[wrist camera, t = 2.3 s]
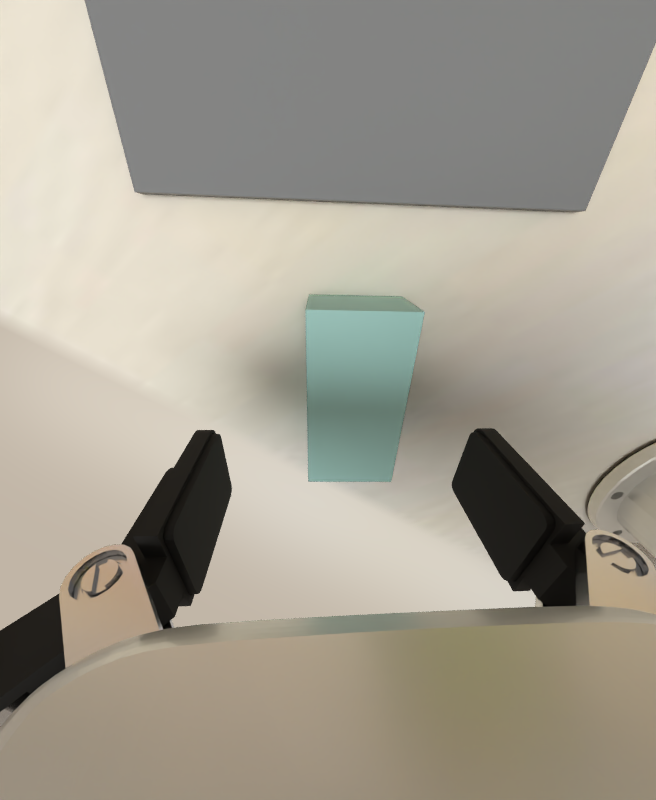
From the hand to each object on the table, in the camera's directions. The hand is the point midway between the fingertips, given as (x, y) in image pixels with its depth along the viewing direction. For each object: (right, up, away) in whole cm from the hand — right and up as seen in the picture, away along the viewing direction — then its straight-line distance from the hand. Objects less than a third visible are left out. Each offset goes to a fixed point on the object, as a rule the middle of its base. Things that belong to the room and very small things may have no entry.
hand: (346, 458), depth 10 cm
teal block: (+1, +4, +7) cm, 8 cm away
